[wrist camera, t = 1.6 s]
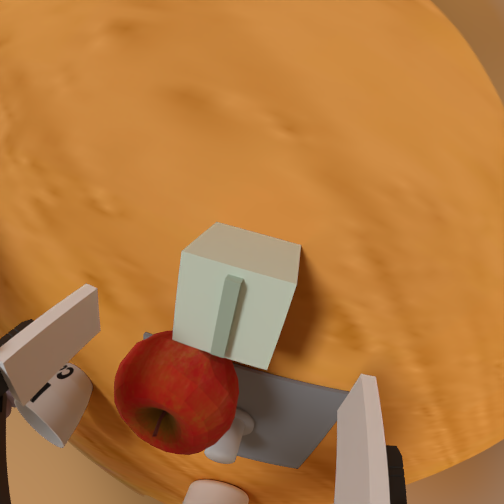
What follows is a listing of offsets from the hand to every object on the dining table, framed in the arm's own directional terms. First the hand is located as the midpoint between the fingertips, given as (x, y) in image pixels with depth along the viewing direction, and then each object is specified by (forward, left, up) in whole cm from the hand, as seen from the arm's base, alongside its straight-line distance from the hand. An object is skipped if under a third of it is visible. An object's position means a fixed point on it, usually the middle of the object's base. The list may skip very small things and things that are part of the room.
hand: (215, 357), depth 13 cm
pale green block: (0, 0, -9) cm, 9 cm away
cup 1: (-19, -23, -9) cm, 31 cm away
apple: (-2, -8, -9) cm, 12 cm away
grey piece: (+2, -17, -9) cm, 19 cm away
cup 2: (+4, -41, -10) cm, 42 cm away
